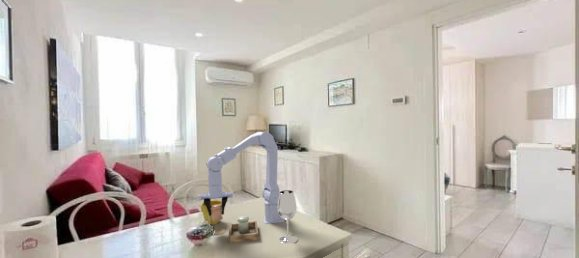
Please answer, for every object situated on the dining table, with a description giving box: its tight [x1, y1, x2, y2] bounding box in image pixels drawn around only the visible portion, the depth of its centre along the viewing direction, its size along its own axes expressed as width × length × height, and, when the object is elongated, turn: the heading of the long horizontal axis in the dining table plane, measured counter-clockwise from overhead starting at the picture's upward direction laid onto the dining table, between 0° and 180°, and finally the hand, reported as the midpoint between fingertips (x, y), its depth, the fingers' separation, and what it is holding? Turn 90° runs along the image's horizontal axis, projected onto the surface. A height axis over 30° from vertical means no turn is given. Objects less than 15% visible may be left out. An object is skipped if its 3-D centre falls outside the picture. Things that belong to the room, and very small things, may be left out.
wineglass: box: [278, 189, 298, 244], centre depth 110 cm, size 8×8×20 cm
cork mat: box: [213, 228, 226, 236], centre depth 120 cm, size 7×7×1 cm
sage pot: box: [236, 215, 250, 233], centre depth 120 cm, size 5×5×6 cm
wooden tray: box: [227, 220, 259, 244], centre depth 117 cm, size 12×14×3 cm
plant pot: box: [200, 199, 222, 226], centre depth 132 cm, size 10×10×10 cm
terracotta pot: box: [210, 204, 223, 222], centre depth 119 cm, size 5×5×6 cm
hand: (216, 214), depth 120 cm, fingers closed on terracotta pot, 5 cm apart
